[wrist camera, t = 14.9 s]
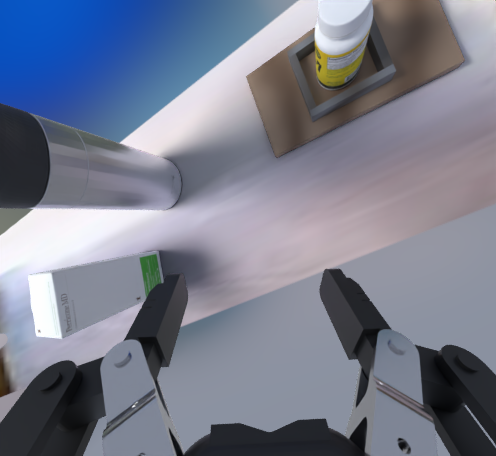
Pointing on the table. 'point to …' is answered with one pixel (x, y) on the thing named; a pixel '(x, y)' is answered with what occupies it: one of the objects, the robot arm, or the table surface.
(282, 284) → the table surface
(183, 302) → the robot arm
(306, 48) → the seat board
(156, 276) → the skincare box
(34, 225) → the table surface
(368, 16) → the supplement bottle
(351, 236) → the table surface
